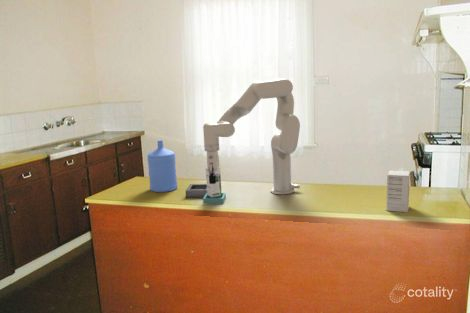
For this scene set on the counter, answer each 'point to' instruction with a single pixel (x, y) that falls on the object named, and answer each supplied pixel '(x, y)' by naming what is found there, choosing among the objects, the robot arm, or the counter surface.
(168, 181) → the water jug
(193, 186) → the grey square tray
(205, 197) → the teal square tray
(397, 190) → the supplement box
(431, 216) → the counter surface
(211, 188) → the syrup box
